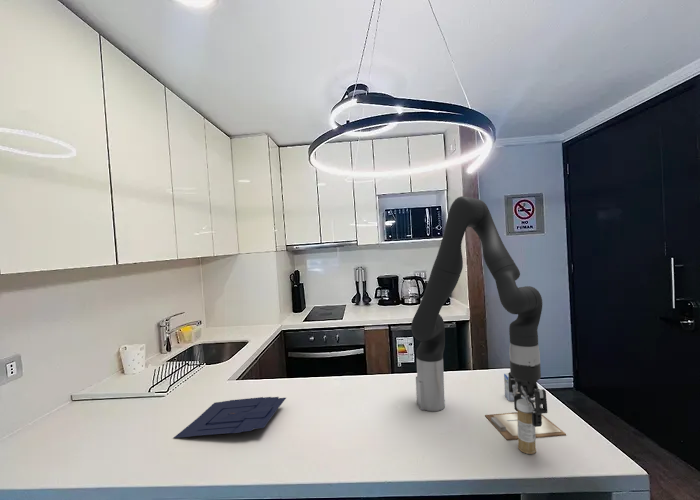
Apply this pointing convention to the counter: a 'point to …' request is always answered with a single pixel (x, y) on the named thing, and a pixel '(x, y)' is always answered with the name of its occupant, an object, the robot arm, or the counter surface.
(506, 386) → the medicine box
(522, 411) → the sprinkles bottle
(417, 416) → the counter surface
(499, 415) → the clipboard
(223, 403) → the navy blue folded cloth
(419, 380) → the robot arm
